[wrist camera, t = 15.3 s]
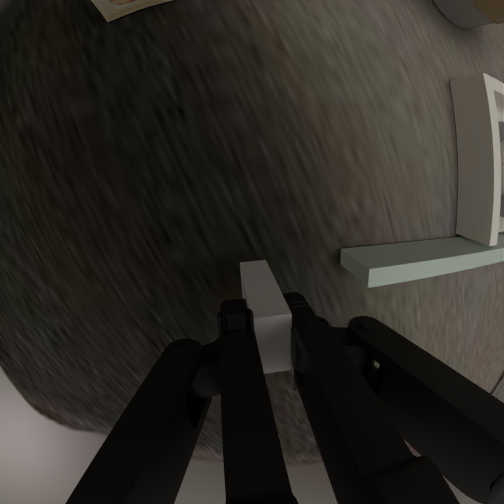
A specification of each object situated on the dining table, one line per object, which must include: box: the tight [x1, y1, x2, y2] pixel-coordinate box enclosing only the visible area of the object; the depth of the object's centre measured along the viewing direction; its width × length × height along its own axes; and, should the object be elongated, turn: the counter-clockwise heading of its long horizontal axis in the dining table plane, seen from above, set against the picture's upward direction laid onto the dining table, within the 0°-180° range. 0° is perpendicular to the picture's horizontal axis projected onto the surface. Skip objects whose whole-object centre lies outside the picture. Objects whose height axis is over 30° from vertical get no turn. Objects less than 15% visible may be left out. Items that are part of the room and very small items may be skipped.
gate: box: [340, 233, 504, 288], centre depth 19 cm, size 1×20×4 cm, turn 94°
